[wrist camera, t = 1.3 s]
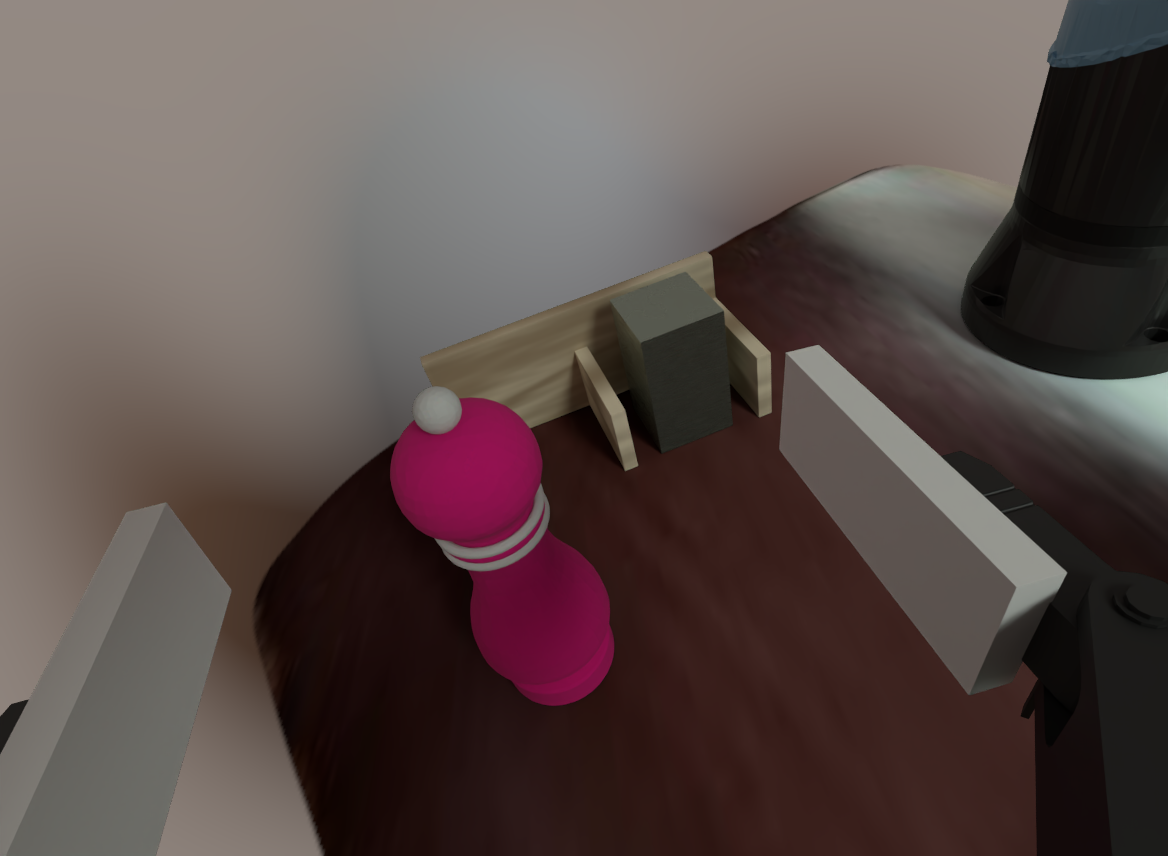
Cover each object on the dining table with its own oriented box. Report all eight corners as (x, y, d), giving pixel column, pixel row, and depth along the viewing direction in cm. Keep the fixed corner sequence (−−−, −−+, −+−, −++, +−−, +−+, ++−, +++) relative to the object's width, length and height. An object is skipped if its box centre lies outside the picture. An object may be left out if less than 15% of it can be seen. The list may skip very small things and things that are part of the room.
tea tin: (732, 425, 46) (724, 310, 39) (661, 453, 45) (640, 342, 39) (698, 381, 50) (685, 271, 43) (633, 407, 49) (609, 299, 43)
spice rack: (771, 412, 46) (769, 309, 40) (485, 526, 44) (438, 437, 38) (714, 347, 52) (705, 250, 46) (463, 445, 51) (420, 357, 44)
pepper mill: (630, 705, 33) (525, 443, 20) (497, 726, 34) (308, 487, 20) (616, 586, 38) (525, 314, 25) (502, 606, 39) (353, 353, 26)
